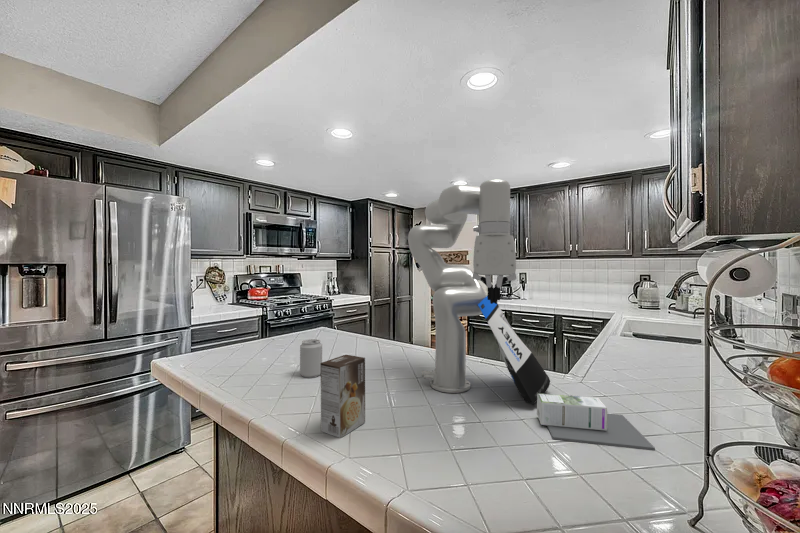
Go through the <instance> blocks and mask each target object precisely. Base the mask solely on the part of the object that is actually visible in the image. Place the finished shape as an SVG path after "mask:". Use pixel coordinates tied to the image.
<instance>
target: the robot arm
mask: <svg viewBox="0 0 800 533" xmlns="http://www.w3.org/2000/svg"><path fill="white" fill-rule="evenodd" d="M468 215H477V216H478V224H477V225H474V226H473V228H472V229H473V232H476V233H478V235H476V236H475V240H474V246H473V263H472V264H473V271H472V269H471V268H469V266H466V265H462V264H459V265H458V264H448V263H446V262H445V259H443V258H444V257H442V255H441V254H440V253H439V252H438V251H437V250H435V249H449V248H452V247H453V246H454V245H455V243H456V242H457V240H458V238H459V236H460V234H461V232H462V231H463V228H464V226H465V224H466V222H467V219H468ZM424 216H425V219H426V220H427V221H428V222H429V223H431V224H420V225H415V226H413V227H411V228H410V230H409V232H408V236H407V240H408V247H409V250H410V253H411V255H412V257H413V259H414V260H415V261H416V263H417V264H418V265H419V267H420V269H421V270H422V274H423V276H424V278H425V280H426V282H427V284H428V286H429V288H430V289H431V290H432V292H434V293H433V295H432V305H433V306H432V307H433V313H434V314H433V315H434V323H435V325H434V326H435V360H434V361H435V368H434V370H431V371H428V370H422V371H421V378H424V379H425V380H429V379H430V387H431V388H433V390H436V391H437V392H442V393H446V394H447V393H450V394H459V393H464V392H467V391H469V390H470V389H471V382H470V381H469V380H468V379H466V368H467V367H466V362H467V359H466V356H467V355H466V353H467V352H466V351H467V350H466V349H467V338H466V337H467V334H466V333H467V332H466V328H465V326H464V324H463V323H462V321H461V320H460V317H474V316H476V317H477V316H481V315H483V313H482V312H481V309H480V308H479V306H478V304H479V303H480V302H481V301H482V300H483V299H484V298H485V297H487V296H488V300H490V303H491V304H493V303H495V304H498V301H501V288H502V286H504V285H505V284H506V282H511V281H514V280H517V274H516V270H517V257H516V243H515V238H514V235H511V184H510V182H509V181H507V180H504V179H489V180H486V181H483V182H482V183H481V184H480V186H476V185H466V184H465V185H464V184H456V185H452V186H449V187H447V188H445V189H443V190H442V191H441V193H440V195H439V197H438V198H437V199H435V200H433V201H431V202H429V203H428V204H427V205H426V207H425V209H424ZM491 276H496V282H495V285H493V283H492V278H491ZM480 282H482V283H483V284H484V285H485V286H486V287H487V294H486V292H485V290H484V288H483V286H482V285H481V283H480Z"/></svg>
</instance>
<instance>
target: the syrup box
mask: <svg viewBox="0 0 800 533" xmlns="http://www.w3.org/2000/svg"><path fill="white" fill-rule="evenodd" d="M608 414H609V413H608V408H607V406H606V405H605V404H604V403H603V402H602V401H601V399H600V397H592V396H580V395H579V396H578V395H577V396H576V395H565V394H550V393H544V394H540V393H538V394H537V401H536V416H537V417H538V420H539V423H540V425H541V426H542V425H543V426H547V425H549V426H560V427H571V428H583V429H594V430H605V431H606V430H607V425H608Z"/></svg>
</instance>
